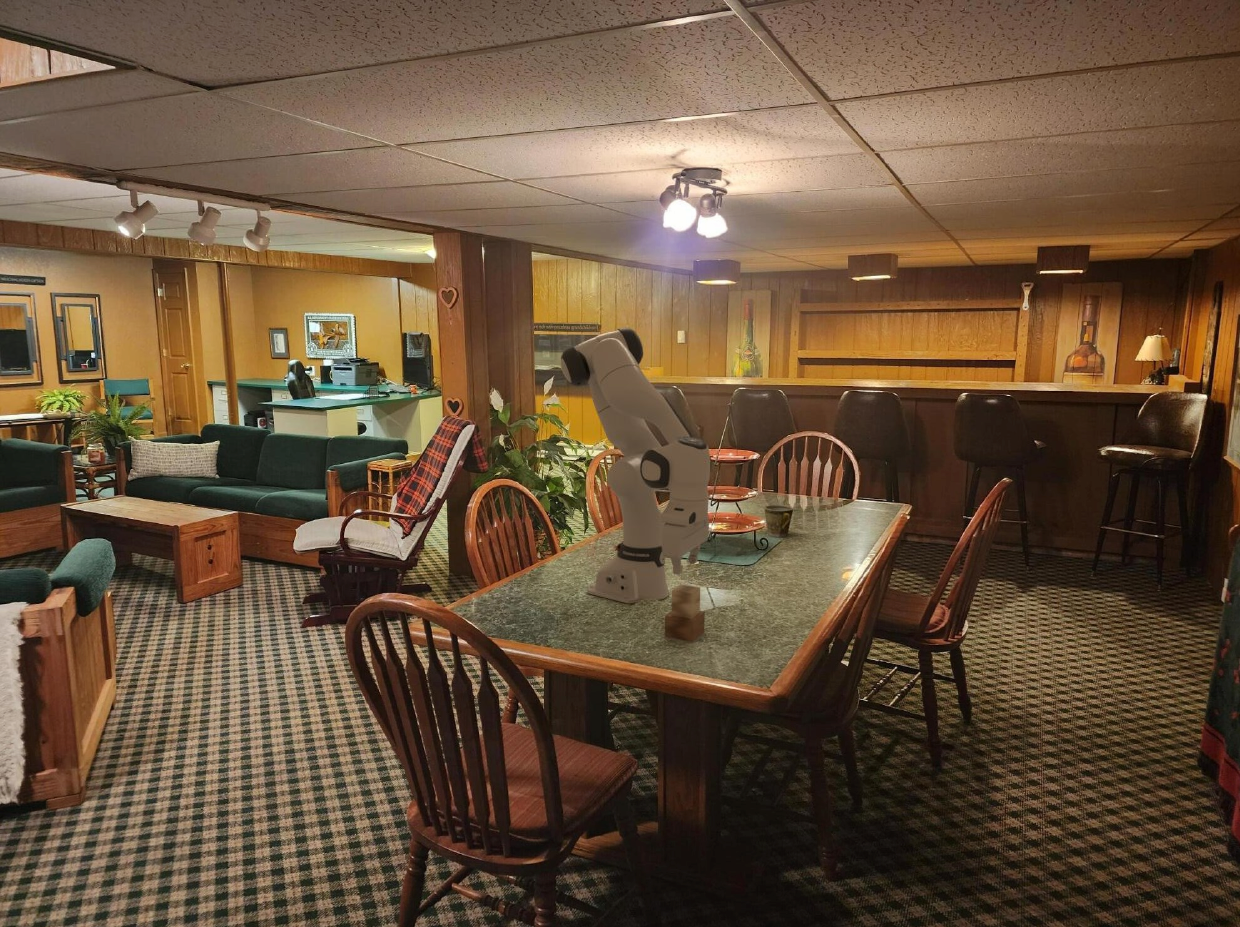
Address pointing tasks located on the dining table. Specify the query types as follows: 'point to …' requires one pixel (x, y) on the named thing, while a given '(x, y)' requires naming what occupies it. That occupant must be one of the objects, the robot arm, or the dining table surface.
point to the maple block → (685, 601)
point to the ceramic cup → (778, 519)
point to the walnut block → (684, 627)
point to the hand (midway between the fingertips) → (685, 568)
